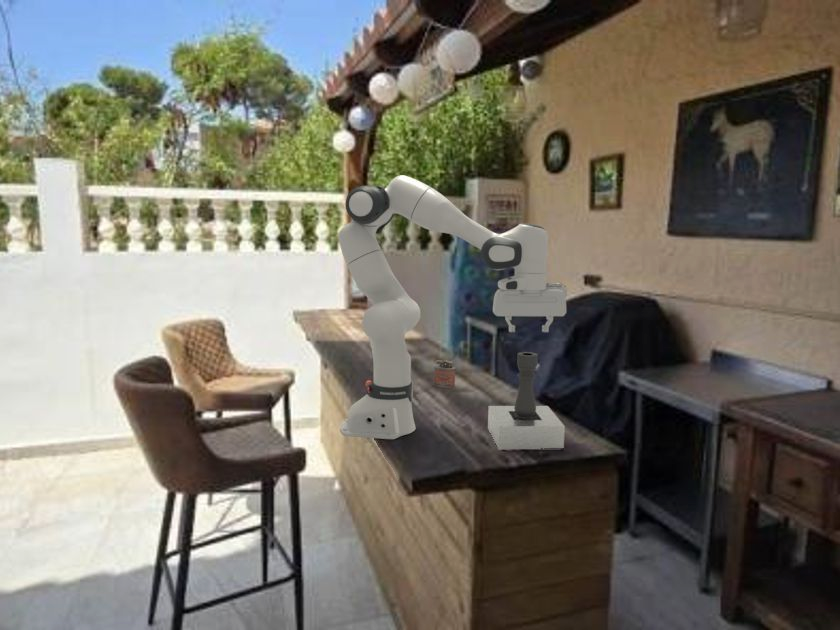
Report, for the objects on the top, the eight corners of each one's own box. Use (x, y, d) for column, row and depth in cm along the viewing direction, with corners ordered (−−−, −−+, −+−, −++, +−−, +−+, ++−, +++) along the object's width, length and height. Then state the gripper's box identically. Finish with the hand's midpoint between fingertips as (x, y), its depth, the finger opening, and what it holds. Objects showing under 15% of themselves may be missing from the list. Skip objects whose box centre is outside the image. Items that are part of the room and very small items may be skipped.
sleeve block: (498, 450, 163) (499, 426, 162) (487, 428, 181) (488, 405, 180) (563, 450, 164) (564, 426, 163) (546, 428, 182) (547, 405, 181)
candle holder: (508, 438, 173) (511, 353, 169) (521, 433, 177) (524, 350, 173) (526, 444, 168) (530, 357, 164) (539, 439, 173) (543, 354, 169)
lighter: (455, 386, 226) (456, 360, 225) (454, 388, 223) (454, 362, 222) (435, 384, 229) (435, 358, 227) (433, 386, 225) (433, 360, 224)
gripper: (564, 281, 169) (561, 329, 171) (492, 281, 168) (491, 329, 170) (570, 284, 163) (568, 334, 165) (496, 283, 162) (494, 334, 164)
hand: (528, 331), depth 168 cm, fingers open, 8 cm apart
